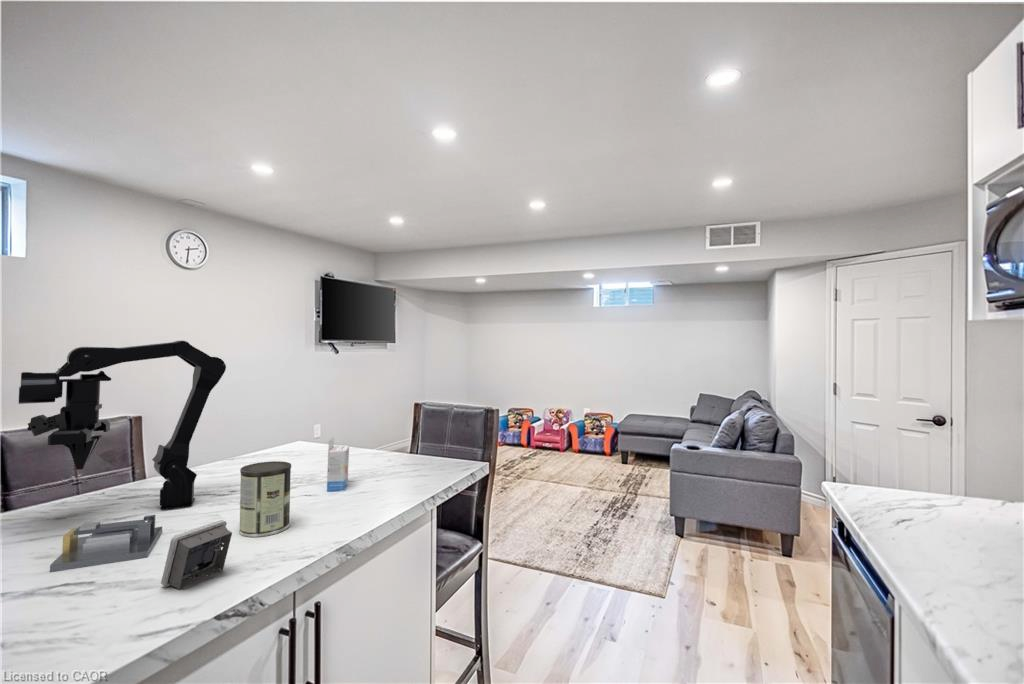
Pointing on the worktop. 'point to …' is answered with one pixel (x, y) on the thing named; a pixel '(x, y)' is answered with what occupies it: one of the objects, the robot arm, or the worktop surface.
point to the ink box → (337, 467)
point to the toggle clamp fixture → (107, 546)
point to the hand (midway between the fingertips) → (80, 469)
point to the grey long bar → (108, 526)
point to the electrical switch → (196, 554)
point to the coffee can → (265, 498)
